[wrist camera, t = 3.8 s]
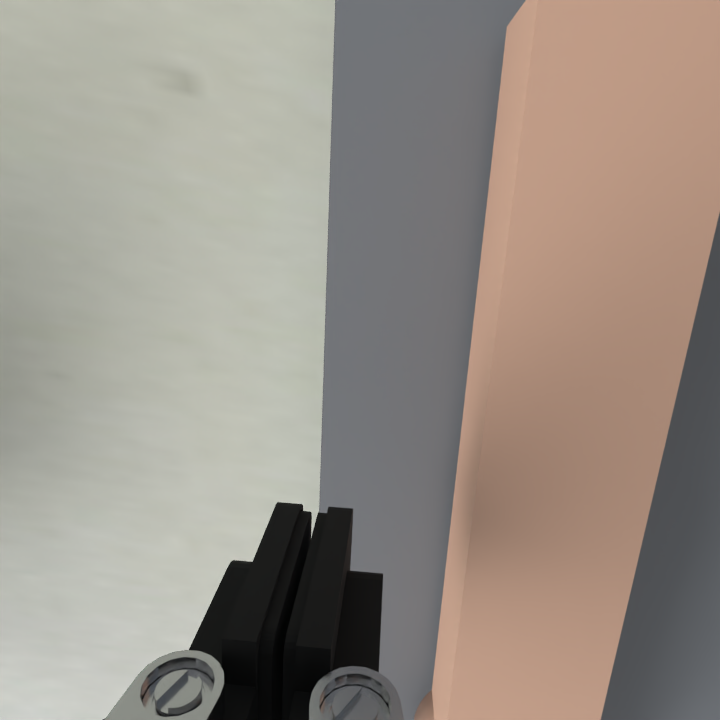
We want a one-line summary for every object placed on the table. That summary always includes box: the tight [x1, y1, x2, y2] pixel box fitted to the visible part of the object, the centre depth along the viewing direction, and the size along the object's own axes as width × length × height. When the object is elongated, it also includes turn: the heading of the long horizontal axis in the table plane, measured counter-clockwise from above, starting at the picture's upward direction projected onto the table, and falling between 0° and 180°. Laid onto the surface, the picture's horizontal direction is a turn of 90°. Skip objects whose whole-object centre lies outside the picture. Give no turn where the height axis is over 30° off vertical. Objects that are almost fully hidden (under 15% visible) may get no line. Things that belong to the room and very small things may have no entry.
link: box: [414, 0, 720, 720], centre depth 14 cm, size 24×5×4 cm, turn 177°
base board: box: [319, 0, 720, 720], centre depth 17 cm, size 27×20×2 cm
